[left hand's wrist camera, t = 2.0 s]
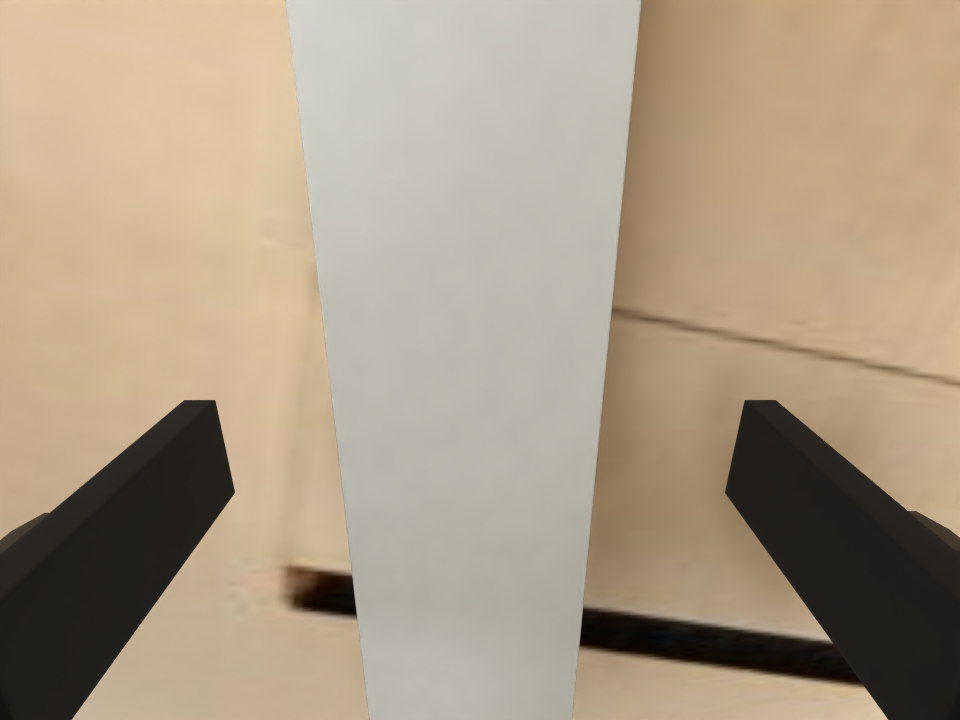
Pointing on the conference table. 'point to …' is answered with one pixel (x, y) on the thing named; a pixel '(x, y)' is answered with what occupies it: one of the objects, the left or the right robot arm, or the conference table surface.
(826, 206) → the conference table surface
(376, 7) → the post
